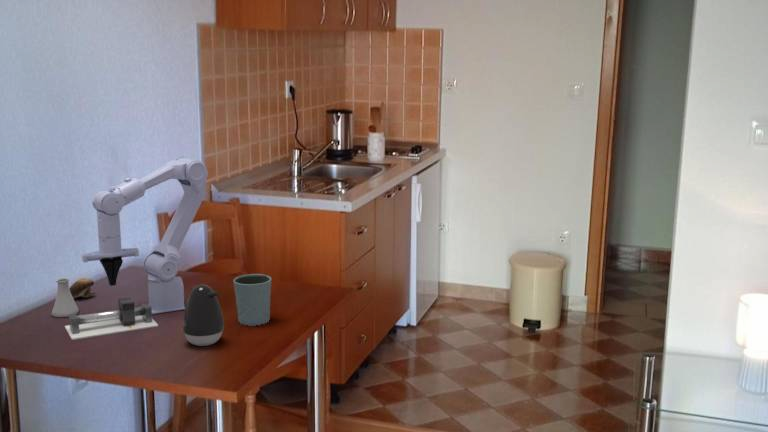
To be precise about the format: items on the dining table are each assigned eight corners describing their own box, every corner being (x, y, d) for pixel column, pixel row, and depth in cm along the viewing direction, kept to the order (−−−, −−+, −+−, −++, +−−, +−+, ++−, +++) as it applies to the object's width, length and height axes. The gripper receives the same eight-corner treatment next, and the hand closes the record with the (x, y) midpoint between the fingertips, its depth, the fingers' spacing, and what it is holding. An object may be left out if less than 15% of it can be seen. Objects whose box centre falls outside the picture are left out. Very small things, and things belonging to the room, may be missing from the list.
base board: (147, 314, 232) (147, 313, 232) (158, 326, 223) (158, 324, 223) (64, 327, 222) (64, 325, 222) (72, 340, 212) (71, 338, 212)
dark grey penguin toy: (205, 352, 205) (203, 293, 202) (174, 344, 210) (172, 286, 207) (233, 340, 213) (231, 283, 210) (203, 333, 218) (201, 277, 215)
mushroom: (104, 286, 248) (91, 270, 247) (84, 302, 242) (70, 285, 241) (94, 293, 253) (81, 277, 252) (74, 309, 248) (60, 293, 247)
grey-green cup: (279, 320, 229) (278, 278, 226) (250, 329, 221) (249, 286, 219) (256, 312, 235) (255, 271, 233) (227, 321, 228) (225, 278, 226)
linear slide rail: (148, 318, 229) (147, 303, 228) (152, 323, 225) (151, 307, 224) (70, 330, 219) (68, 314, 218) (73, 335, 215) (71, 319, 215)
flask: (69, 319, 228) (67, 284, 226) (45, 317, 230) (43, 282, 228) (84, 311, 235) (81, 277, 233) (61, 309, 237) (58, 275, 235)
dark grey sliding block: (130, 318, 227) (129, 297, 226) (135, 323, 223) (134, 302, 222) (119, 319, 226) (118, 299, 224) (123, 325, 221) (122, 304, 220)
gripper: (133, 230, 230) (135, 277, 233) (78, 235, 223) (81, 284, 226) (139, 235, 224) (142, 283, 227) (83, 241, 217) (86, 291, 220)
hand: (112, 284), depth 226 cm, fingers closed
